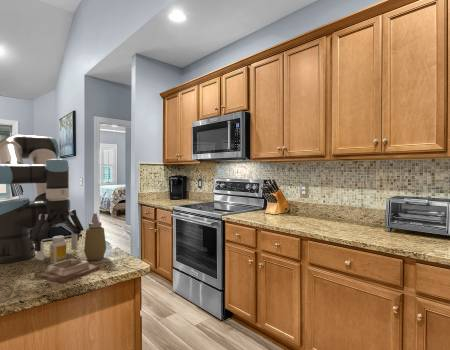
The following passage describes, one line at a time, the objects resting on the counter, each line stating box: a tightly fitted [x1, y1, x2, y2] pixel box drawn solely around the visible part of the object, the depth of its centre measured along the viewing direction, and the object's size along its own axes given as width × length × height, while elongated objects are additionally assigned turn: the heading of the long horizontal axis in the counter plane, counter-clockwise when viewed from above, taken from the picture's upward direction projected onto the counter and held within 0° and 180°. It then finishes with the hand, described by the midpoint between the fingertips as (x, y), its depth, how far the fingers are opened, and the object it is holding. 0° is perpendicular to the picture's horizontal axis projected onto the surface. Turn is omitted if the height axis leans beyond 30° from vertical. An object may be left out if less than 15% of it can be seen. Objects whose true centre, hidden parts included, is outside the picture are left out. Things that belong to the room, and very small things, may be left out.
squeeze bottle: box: [83, 212, 107, 261], centre depth 111 cm, size 8×8×18 cm
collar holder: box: [34, 257, 101, 284], centre depth 97 cm, size 14×14×3 cm
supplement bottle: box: [49, 235, 67, 264], centre depth 108 cm, size 5×5×10 cm
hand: (58, 254), depth 108 cm, fingers open, 13 cm apart
